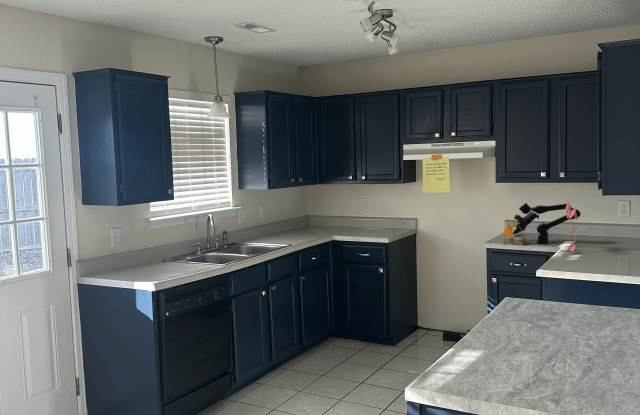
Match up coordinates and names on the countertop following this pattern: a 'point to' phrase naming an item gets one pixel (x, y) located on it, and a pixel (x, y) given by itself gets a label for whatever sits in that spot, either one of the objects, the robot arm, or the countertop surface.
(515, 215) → the robot arm
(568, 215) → the figurine
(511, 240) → the green slab with socket
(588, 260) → the countertop surface
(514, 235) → the wooden pepper mill
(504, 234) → the bracket
